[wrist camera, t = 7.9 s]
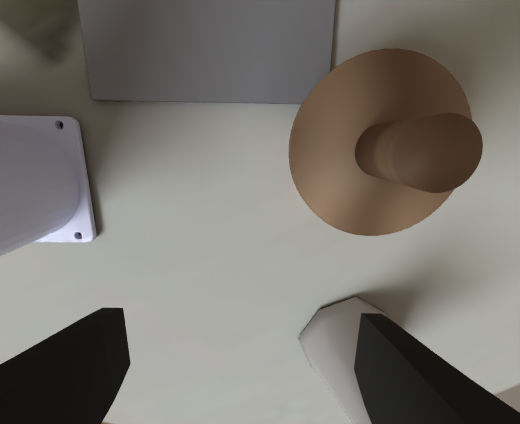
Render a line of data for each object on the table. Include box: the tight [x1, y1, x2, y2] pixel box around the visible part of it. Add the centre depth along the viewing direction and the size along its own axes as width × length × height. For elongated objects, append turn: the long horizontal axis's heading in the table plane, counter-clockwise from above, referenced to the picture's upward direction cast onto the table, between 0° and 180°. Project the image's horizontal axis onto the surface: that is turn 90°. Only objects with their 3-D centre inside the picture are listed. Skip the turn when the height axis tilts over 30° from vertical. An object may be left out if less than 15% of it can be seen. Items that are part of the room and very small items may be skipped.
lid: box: [289, 49, 483, 236], centre depth 11 cm, size 9×9×5 cm
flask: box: [298, 297, 388, 424], centre depth 16 cm, size 7×7×10 cm
